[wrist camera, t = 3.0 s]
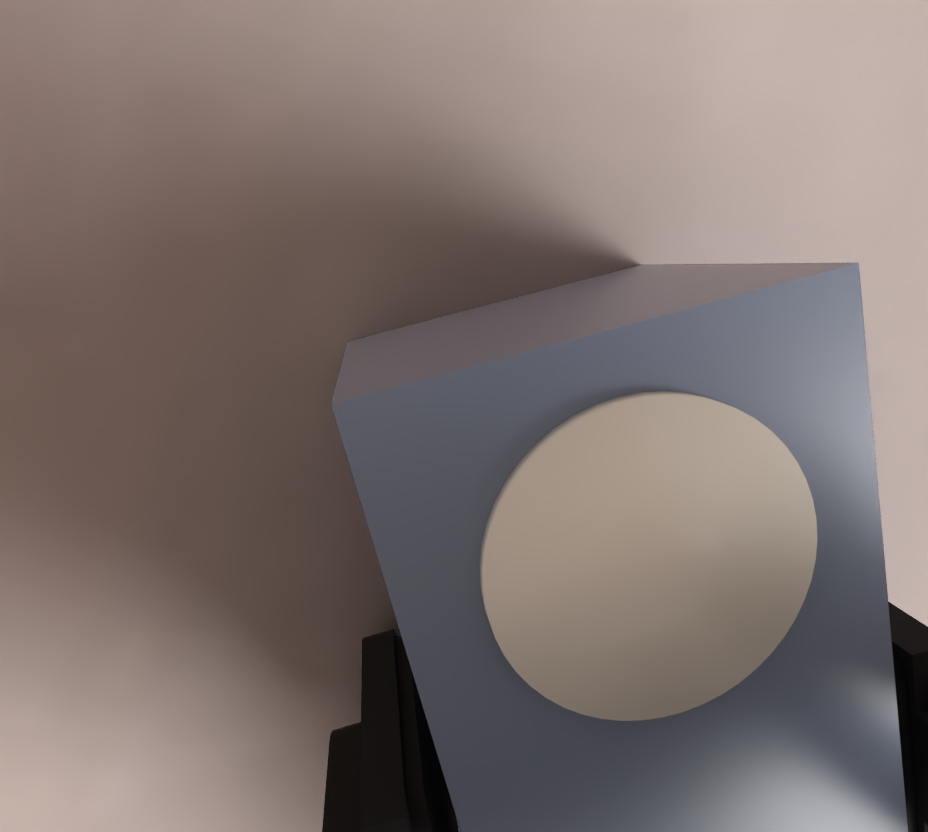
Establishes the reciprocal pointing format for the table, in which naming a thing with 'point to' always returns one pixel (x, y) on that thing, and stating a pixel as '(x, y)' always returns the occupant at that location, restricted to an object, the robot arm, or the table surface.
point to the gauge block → (639, 550)
